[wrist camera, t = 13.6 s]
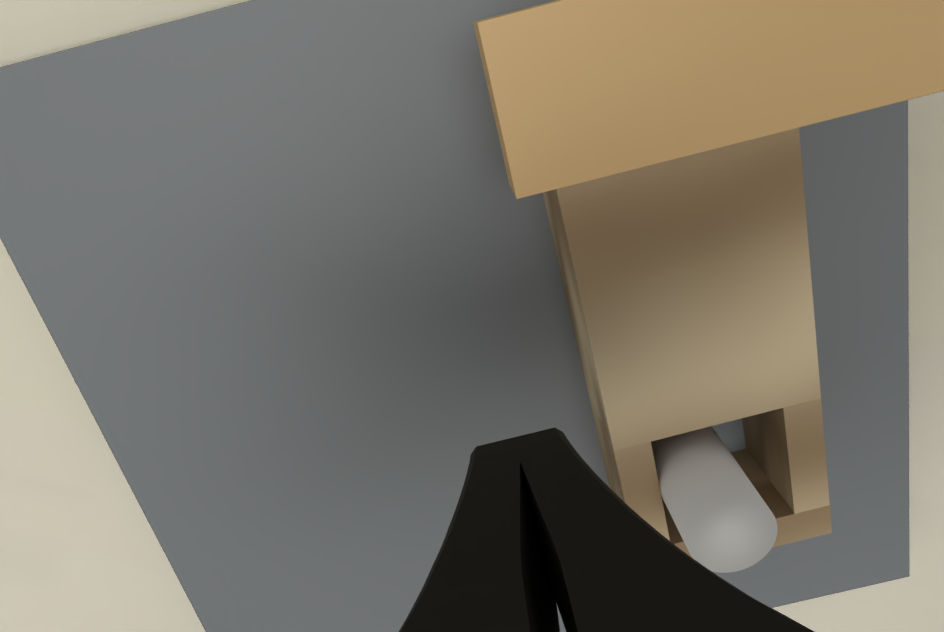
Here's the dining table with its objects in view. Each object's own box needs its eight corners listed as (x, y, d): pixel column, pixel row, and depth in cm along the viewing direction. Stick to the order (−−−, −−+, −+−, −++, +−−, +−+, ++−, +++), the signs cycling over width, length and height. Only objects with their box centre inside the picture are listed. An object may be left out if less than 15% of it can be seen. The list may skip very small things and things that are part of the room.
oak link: (778, 465, 21) (832, 532, 19) (614, 507, 22) (642, 579, 19) (721, -47, 16) (783, -60, 13) (502, 16, 16) (518, 15, 13)
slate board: (878, -165, 16) (1116, -259, 11) (891, 554, 24) (1028, 714, 19) (-51, 84, 17) (-282, 117, 11) (261, 700, 25) (214, 894, 20)
